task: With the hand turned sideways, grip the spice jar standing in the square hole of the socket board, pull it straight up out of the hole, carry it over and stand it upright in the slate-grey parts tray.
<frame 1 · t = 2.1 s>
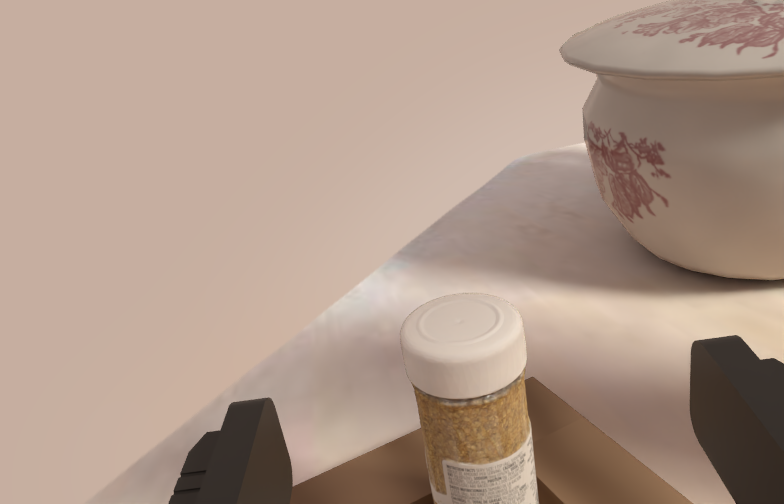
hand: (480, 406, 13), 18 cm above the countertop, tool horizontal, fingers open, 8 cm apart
chamber pot: (751, 239, 54), on the countertop
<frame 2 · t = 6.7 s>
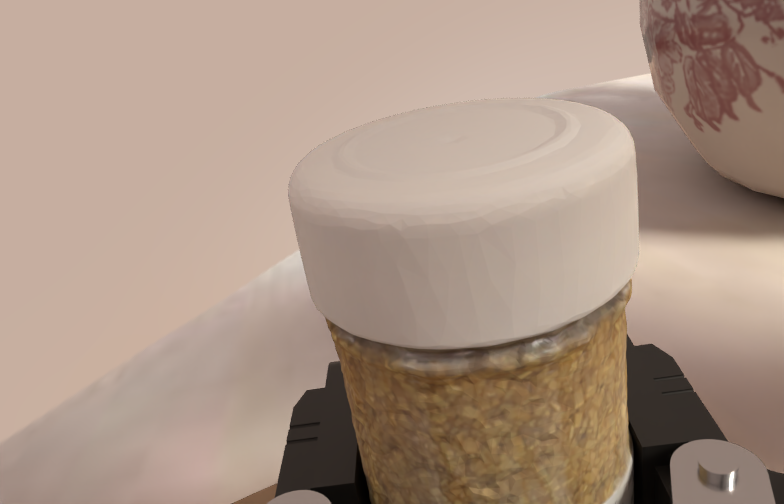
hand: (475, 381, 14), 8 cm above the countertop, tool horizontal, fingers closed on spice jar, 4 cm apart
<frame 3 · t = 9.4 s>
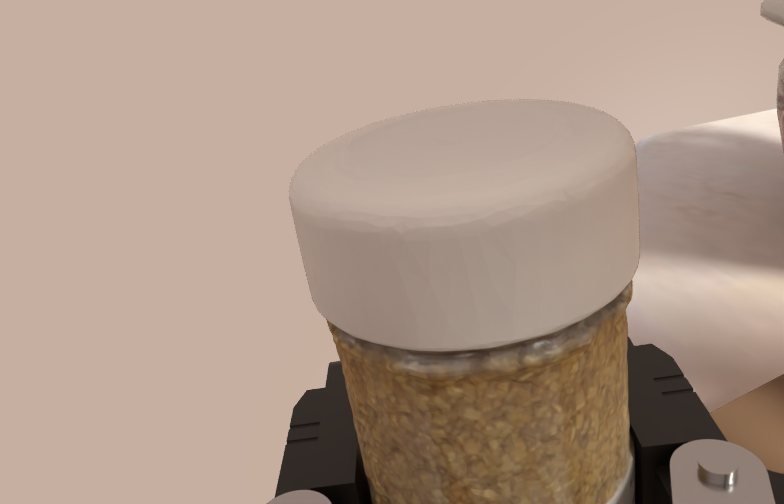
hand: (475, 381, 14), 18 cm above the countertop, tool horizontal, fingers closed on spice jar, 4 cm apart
when the fingers open (10 cm above the countertop, at t = 11.9 s): spice jar drops 1 cm, resting on parts tray.
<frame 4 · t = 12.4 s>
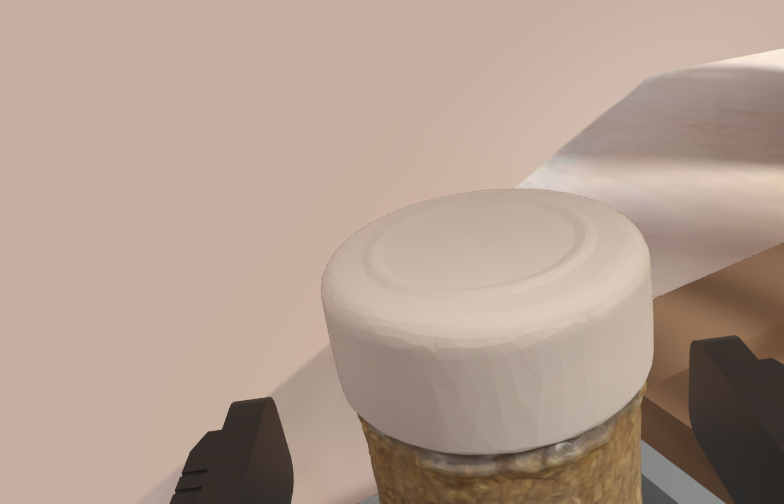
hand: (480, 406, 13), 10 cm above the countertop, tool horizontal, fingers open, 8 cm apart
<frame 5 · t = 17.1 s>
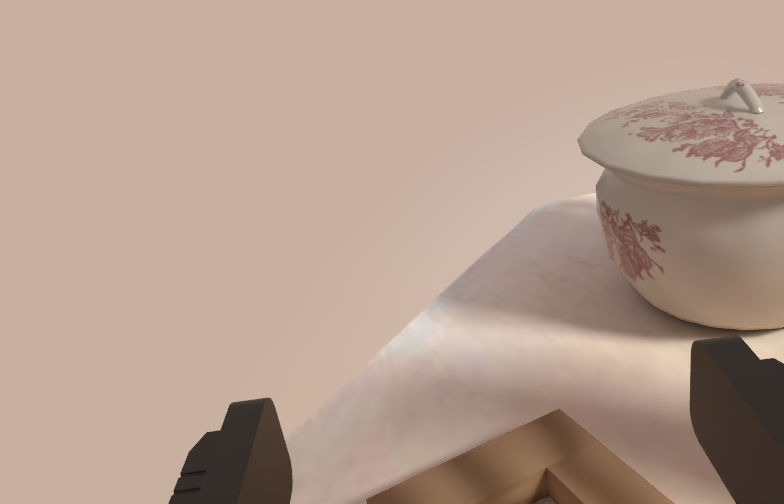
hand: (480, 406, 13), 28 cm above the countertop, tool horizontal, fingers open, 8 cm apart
chamber pot: (733, 292, 67), on the countertop
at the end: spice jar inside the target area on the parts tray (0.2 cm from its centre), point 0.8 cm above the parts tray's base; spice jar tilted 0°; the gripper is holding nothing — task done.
